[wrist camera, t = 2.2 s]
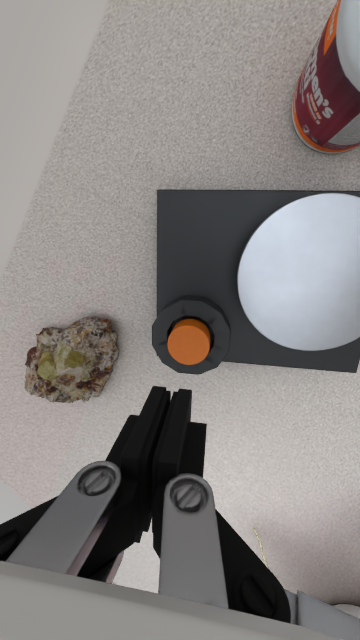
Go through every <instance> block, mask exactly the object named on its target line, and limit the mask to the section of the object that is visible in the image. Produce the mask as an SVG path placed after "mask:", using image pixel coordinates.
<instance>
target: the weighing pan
mask: <svg viewBox="0 0 360 640" xmlns="http://www.w3.org/2000/svg"><path fill="white" fill-rule="evenodd" d="M237 290H238V296H239V300H240V303H241V306H242V308H243V310H244V313H245V314H246V316H247V318H248V320H249V321H250V322H251V323H252V325H253V326H254V327H255V328H256V329H257V330H258V331H259V332H260V333H261V334H262V335H264V336H265V337H266V338H268V339H269V340H271V341H273V342H275V343H277V344H279V345H282V346H284V347H288V348H292V349H296V350H303V351H318V350H326V349H331V348H335V347H339V346H342V345H345V344H347V343H349V342H351V341H354V340H356V339H357V338H359V337H360V197H357V196H353V195H349V194H344V193H320V194H314V195H309V196H306V197H303V198H300V199H297V200H295V201H293V202H290V203H288V204H286V205H284V206H283V207H281V208H280V209H278V210H276V211H275V212H273V213H272V214H271V215H270V216H268V217H267V218H266V219H265V220H264V221H263V222H262V223H261V224H260V225H259V226H258V227H257V228H256V230H255V231H254V232H253V234H252V235H251V236H250V238H249V240H248V242H247V243H246V245H245V247H244V250H243V252H242V254H241V257H240V261H239V264H238V271H237Z"/></svg>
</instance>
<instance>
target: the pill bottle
mask: <svg viewBox="0 0 360 640" xmlns="http://www.w3.org/2000/svg"><path fill="white" fill-rule="evenodd" d="M292 120H293V124H294V128H295V130H296V132H297V134H298V136H299V138H300V139H301V140H302V141H303V142H304V143H305V144H306V145H307V146H308V147H310V148H312V149H313V150H315V151H318V152H321V153H326V154H335V153H342V152H346V151H349V150H352V149H354V148H356V147H358V146H360V0H338V1H337V3H336V5H335V7H334V9H333V11H332V13H331V15H330V17H329V19H328V21H327V23H326V24H325V27H324V29H323V30H322V32H321V35H320V37H319V39H318V41H317V43H316V45H315V46H314V48H313V50H312V52H311V54H310V57H309V58H308V61H307V63H306V65H305V67H304V69H303V71H302V73H301V75H300V77H299V80H298V82H297V84H296V87H295V90H294V94H293V99H292Z"/></svg>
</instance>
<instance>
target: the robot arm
mask: <svg viewBox="0 0 360 640" xmlns="http://www.w3.org/2000/svg"><path fill="white" fill-rule="evenodd" d="M170 398H171V393H170V391H166V387H158V386H153V387H152V389H151V392H150V394H149V396H148V398H147V400H146V402H145V404H144V406H143V409H142V411H141V413H140V415H139V416H138V415H130V416H129V417H128V419H127V421H126V423H125V424H124V426H123V428H122V430H121V432H120V434H119V436H118V438H117V440H116V441H115V443H114V445H113V447H112V449H111V451H110V453H109V455H108V457H107V458H106V460H105V461H96V462H93V463H91V464H88V465H87V466H85V467H83V468H82V469H81V470H80V471H79V472H78V473H77V474H76V475H75V477H74V478H73V479H72V480H71V481H70V483H69V484H68V485H67V486H66V488H65V489H64V490H63V491H62V493H61V494H60V495H59V496H57V497H55V498H53V499H51V500H49V501H47V502H45V503H43V504H41V505H39V506H37V507H35V508H33V509H31V510H29V511H27V512H25V513H23V514H21V515H19V516H17V517H15V518H13V519H11V520H9V521H7V522H5V523H3V524H1V525H0V640H360V619H359V618H357V617H355V616H353V615H351V614H348V613H346V612H344V611H342V610H340V609H338V608H335V607H333V606H331V605H329V604H327V603H324V602H322V601H320V600H318V599H316V598H314V597H311V596H309V595H307V594H305V593H303V592H301V591H298V592H297V595H296V594H294V593H292V592H290V591H288V590H285V589H284V588H283V587H282V585H281V584H280V582H279V581H278V580H277V578H276V577H275V576H274V575H273V573H272V572H271V571H270V570H269V569H268V568H267V567H266V566H265V564H264V563H263V562H262V561H261V560H260V559H259V558H258V556H257V555H256V554H255V553H254V552H253V551H252V550H251V549H250V547H249V546H248V545H247V544H246V543H245V542H244V541H243V539H242V538H241V537H240V536H239V535H238V534H237V533H236V532H235V530H234V529H233V528H232V527H231V526H230V525H229V524H228V522H227V521H226V520H225V519H224V518H223V517H222V516H221V515H220V513H219V512H218V511H217V510H216V509H215V504H214V496H213V492H212V489H211V487H210V485H209V484H208V482H207V481H206V480H205V479H203V468H204V455H205V441H206V426H207V424H204V423H195V422H190V419H191V399H192V390H187V389H179V390H178V392H174V393H173V396H172V399H171V402H170ZM151 519H152V533H153V548H154V549H155V551H156V553H157V555H158V556H159V558H160V574H159V591H158V594H157V593H152V592H148V591H143V590H138V589H134V588H129V587H124V586H119V585H115V584H112V582H113V579H114V577H115V575H116V573H117V570H118V568H119V566H120V564H121V561H122V558H123V555H124V550H125V549H126V548H128V547H129V546H131V545H132V544H133V543H134V542H137V543H140V539H141V536H142V532H143V531H145V532H148V530H149V527H150V523H151Z"/></svg>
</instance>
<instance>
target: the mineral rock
mask: <svg viewBox="0 0 360 640" xmlns="http://www.w3.org/2000/svg"><path fill="white" fill-rule="evenodd" d="M111 326H112V323H111V321H110V320H109V319H101V320H98V319H97V318H96V317H93V316H90V317H86V318H83V319H82V320H79V321H76V322H74V323H73V324H72V325H71V326H70V327H69V328H67V329H64V330H62V329H57V330H56V329H54V328H53V327H50V328H43V330H42V331H41V332H40V333H39V334H36V336H37V347H33V348H31V349H30V350H29V351H28V353H27V361H26V364H25V365H26V366H27V369H26V376H25V378H26V381H25V390H26V391H27V392H29V393H30V395H36V396H38V397H42V398H46V399H47V400H49V401H50V402H63V403H64V402H68V403H70V402H72V403H73V402H74V401H76V400H79V399H82V401H83V402H84V401H88V400H89V398H90V397H91V396H93V397H98V396H99V395H100V391H101V390H102V388H103V387H104V386H103V385H104V384H105V383H106V381H107V380H108V379H109V376H110V372H112V367H113V363H114V361H116V360H117V359H118V350H119V349H118V348H117V347H116V345H115V343H116V337H117V336H118V335H116V333H112V332H111Z"/></svg>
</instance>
